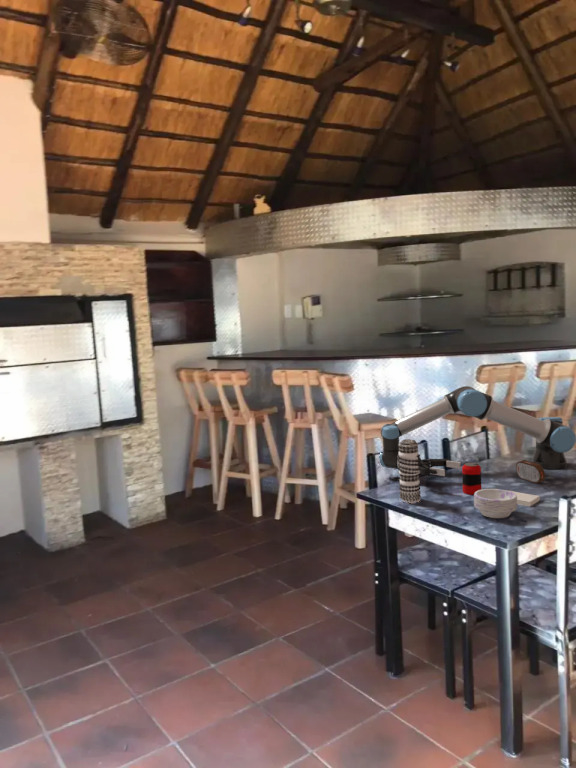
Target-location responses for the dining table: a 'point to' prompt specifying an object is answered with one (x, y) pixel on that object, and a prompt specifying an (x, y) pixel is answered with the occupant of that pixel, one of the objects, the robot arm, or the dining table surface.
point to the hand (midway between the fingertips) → (452, 469)
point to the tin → (530, 471)
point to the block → (526, 499)
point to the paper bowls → (495, 502)
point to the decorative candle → (409, 471)
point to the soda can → (471, 478)
